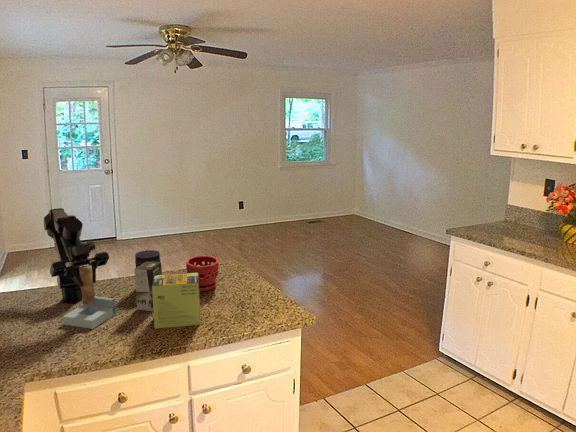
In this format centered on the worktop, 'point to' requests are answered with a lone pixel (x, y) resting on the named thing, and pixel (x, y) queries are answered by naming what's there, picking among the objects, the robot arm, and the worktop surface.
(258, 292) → the worktop surface
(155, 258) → the storage jar
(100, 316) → the socket block
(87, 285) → the peg
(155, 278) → the protein box
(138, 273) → the coffee box
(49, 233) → the robot arm
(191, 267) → the plant pot
